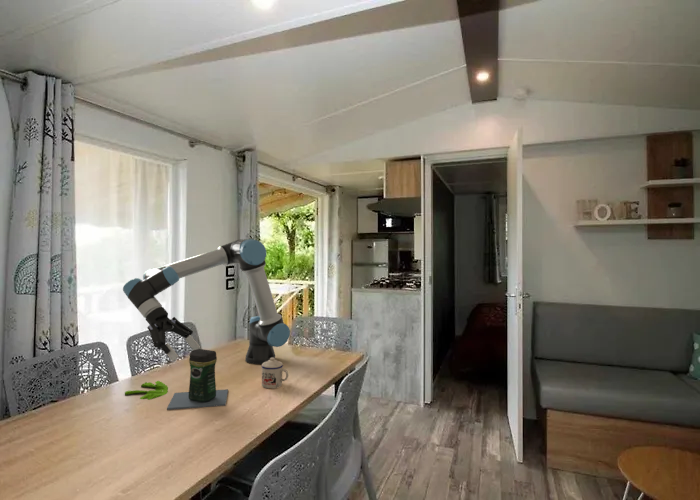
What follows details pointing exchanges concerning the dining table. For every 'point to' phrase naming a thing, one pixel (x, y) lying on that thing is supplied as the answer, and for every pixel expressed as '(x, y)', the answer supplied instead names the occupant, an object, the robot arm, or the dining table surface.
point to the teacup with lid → (272, 373)
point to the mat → (184, 402)
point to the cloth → (159, 390)
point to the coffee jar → (202, 375)
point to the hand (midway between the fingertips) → (187, 354)
